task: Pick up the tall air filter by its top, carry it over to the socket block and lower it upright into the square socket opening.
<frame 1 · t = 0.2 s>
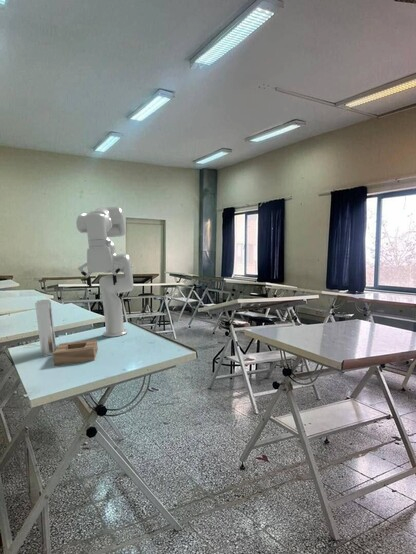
hand: (102, 285, 154), 31 cm above the table, tool pointing down, fingers open, 9 cm apart
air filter: (49, 354, 173), on the table
socket block: (77, 357, 164), on the table
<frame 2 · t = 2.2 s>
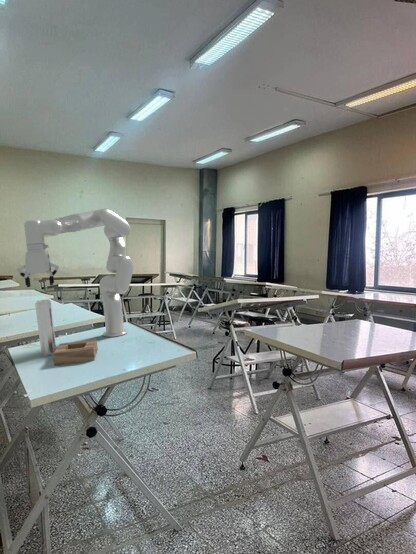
hand: (40, 285, 169), 32 cm above the table, tool pointing down, fingers open, 9 cm apart
nothing on the table moved.
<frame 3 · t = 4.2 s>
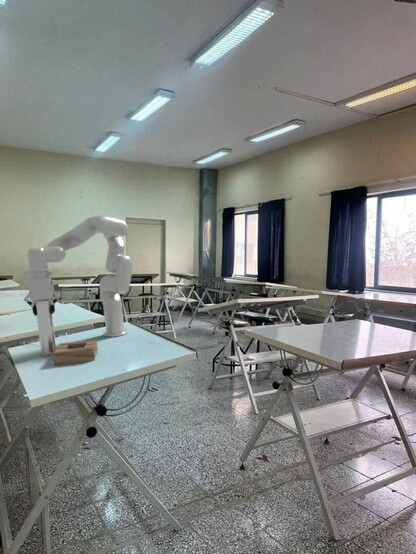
hand: (44, 313, 171), 19 cm above the table, tool pointing down, fingers closed on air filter, 6 cm apart
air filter: (49, 354, 173), on the table, touching gripper
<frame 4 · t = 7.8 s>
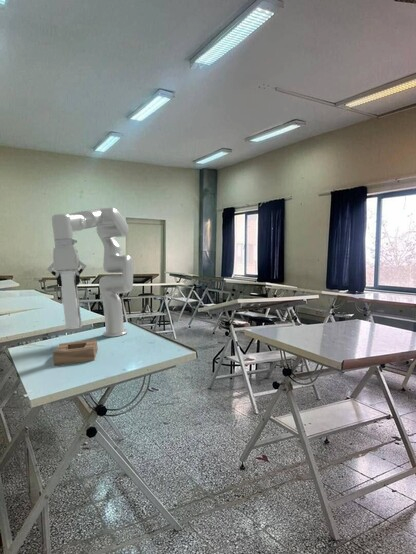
hand: (69, 285, 161), 32 cm above the table, tool pointing down, fingers closed on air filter, 6 cm apart
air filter: (74, 328, 163), point 13 cm above the table, touching gripper
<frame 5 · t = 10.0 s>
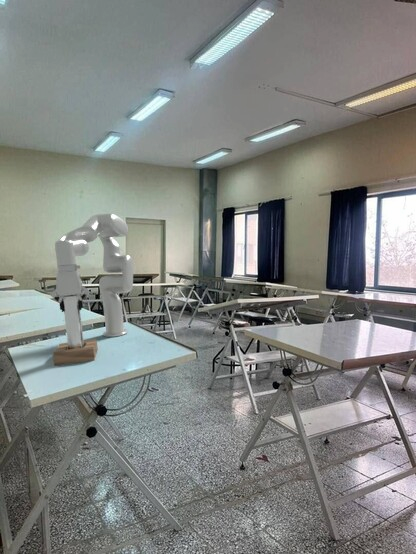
hand: (71, 310, 162), 21 cm above the table, tool pointing down, fingers closed on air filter, 6 cm apart
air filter: (76, 352, 164), point 2 cm above the table, touching gripper
when the fingers open (20 cm above the table, at t = 11.6 s): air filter drops 1 cm, resting in socket block.
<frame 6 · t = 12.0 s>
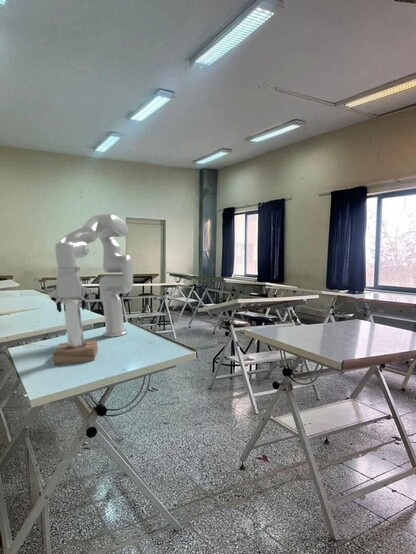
hand: (71, 310, 162), 21 cm above the table, tool pointing down, fingers open, 9 cm apart
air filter: (77, 357, 164), resting in socket block
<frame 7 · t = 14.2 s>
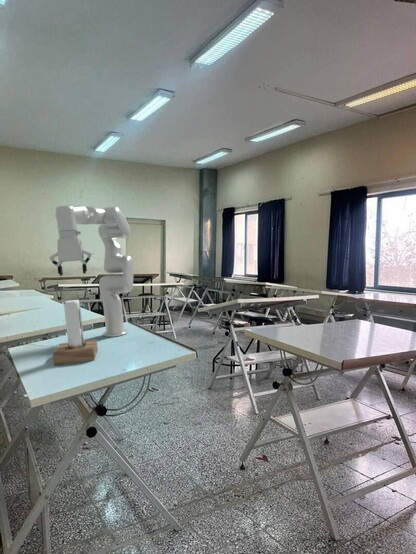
hand: (73, 274, 163), 36 cm above the table, tool pointing down, fingers open, 9 cm apart
nothing on the table moved.
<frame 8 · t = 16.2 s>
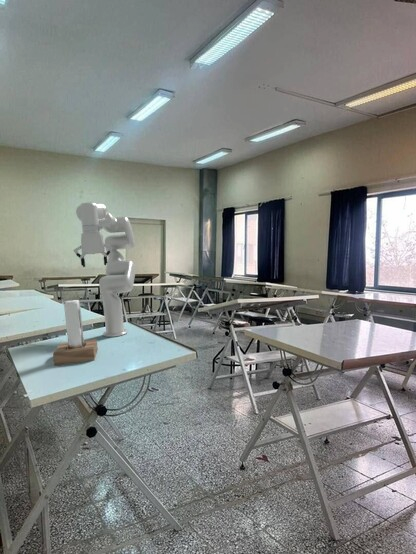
hand: (94, 266, 176), 38 cm above the table, tool pointing down, fingers open, 9 cm apart
nothing on the table moved.
at the end: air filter 0.3 cm off-centre on the socket block, point 0.0 cm above the socket block's base; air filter tilted 0°; the gripper is holding nothing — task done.
